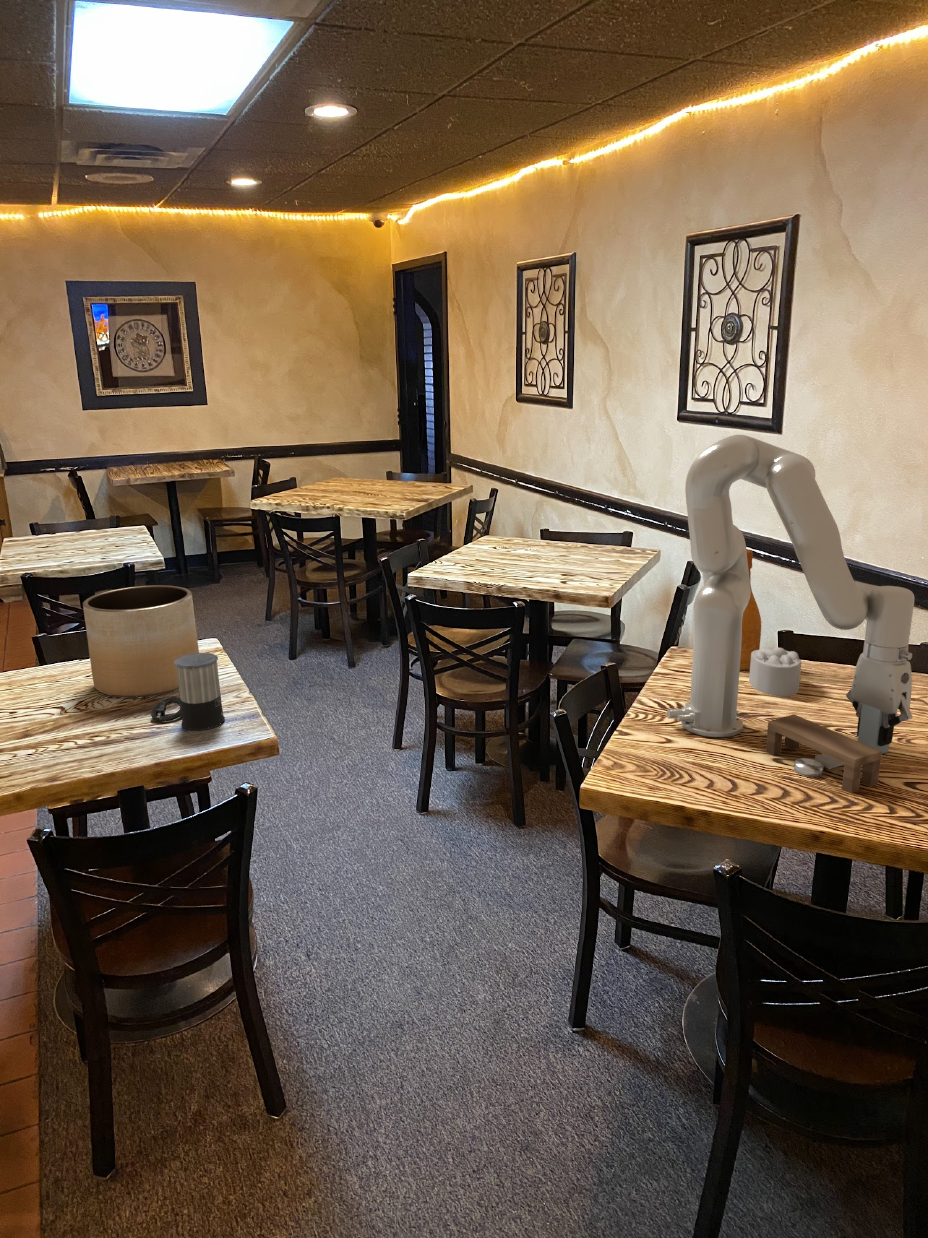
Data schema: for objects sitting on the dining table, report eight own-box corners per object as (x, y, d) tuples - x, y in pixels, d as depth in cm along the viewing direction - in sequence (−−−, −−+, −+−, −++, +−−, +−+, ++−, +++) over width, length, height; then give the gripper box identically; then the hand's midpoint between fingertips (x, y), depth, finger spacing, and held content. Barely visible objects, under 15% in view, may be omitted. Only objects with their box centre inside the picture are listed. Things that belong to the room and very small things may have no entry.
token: (811, 779, 159) (812, 772, 158) (788, 768, 163) (789, 761, 162) (827, 773, 161) (829, 766, 161) (804, 763, 165) (806, 756, 165)
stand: (851, 793, 153) (854, 759, 151) (765, 751, 170) (768, 721, 168) (877, 784, 156) (882, 751, 154) (791, 744, 173) (794, 714, 171)
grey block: (870, 744, 172) (876, 697, 169) (888, 751, 169) (894, 704, 166) (813, 761, 165) (818, 712, 162) (830, 769, 162) (836, 720, 159)
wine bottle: (750, 658, 224) (758, 545, 216) (764, 671, 215) (773, 553, 207) (712, 659, 224) (720, 546, 216) (725, 672, 215) (733, 554, 207)
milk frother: (225, 728, 187) (218, 663, 183) (148, 737, 183) (139, 671, 179) (224, 705, 200) (218, 644, 196) (152, 713, 196) (144, 651, 192)
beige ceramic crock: (101, 671, 224) (89, 589, 218) (202, 661, 231) (194, 581, 225) (87, 706, 201) (73, 615, 195) (200, 694, 207) (191, 605, 201)
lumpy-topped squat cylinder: (788, 677, 211) (791, 643, 208) (806, 696, 198) (810, 661, 196) (745, 677, 211) (747, 644, 209) (761, 697, 199) (763, 661, 196)
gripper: (938, 660, 158) (925, 752, 164) (861, 637, 173) (850, 721, 178) (911, 667, 155) (898, 760, 160) (834, 642, 170) (825, 729, 175)
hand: (873, 739), depth 169 cm, fingers closed on grey block, 4 cm apart
